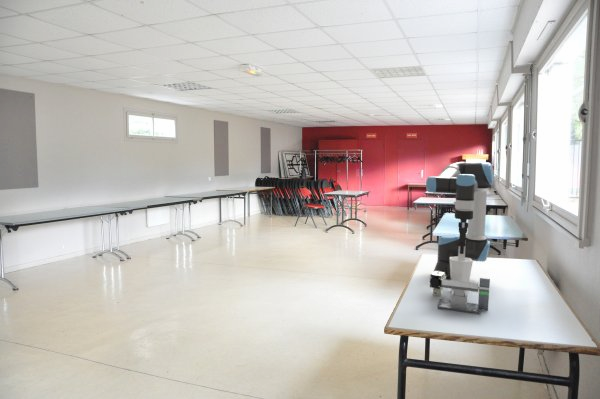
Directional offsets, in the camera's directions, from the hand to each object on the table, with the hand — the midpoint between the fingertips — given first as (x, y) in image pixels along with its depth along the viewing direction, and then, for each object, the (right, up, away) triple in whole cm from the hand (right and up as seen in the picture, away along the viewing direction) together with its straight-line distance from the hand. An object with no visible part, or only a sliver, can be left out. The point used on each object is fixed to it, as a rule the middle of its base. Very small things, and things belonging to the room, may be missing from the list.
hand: (461, 257), depth 188 cm
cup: (+8, -21, +23) cm, 32 cm away
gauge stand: (+1, -23, +1) cm, 23 cm away
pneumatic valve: (-5, -21, +18) cm, 28 cm away
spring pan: (+2, -18, +1) cm, 18 cm away
